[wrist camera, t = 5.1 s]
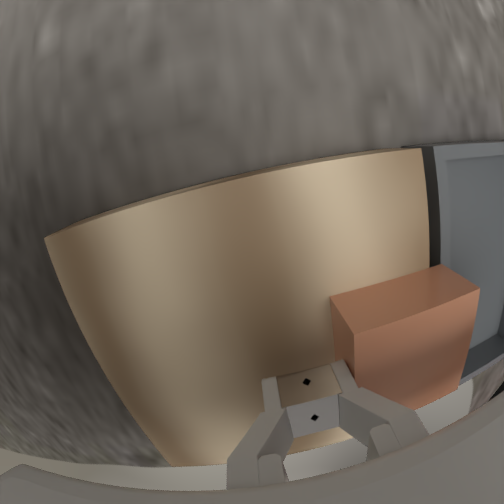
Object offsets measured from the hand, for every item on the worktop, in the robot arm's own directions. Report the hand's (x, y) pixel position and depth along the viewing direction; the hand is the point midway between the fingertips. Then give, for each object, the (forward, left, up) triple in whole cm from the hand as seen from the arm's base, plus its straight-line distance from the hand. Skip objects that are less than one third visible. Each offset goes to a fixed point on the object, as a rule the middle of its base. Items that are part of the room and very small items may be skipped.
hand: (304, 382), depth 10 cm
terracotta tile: (+4, 0, -1) cm, 4 cm away
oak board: (-1, 0, -4) cm, 4 cm away
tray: (+11, 0, -4) cm, 12 cm away
